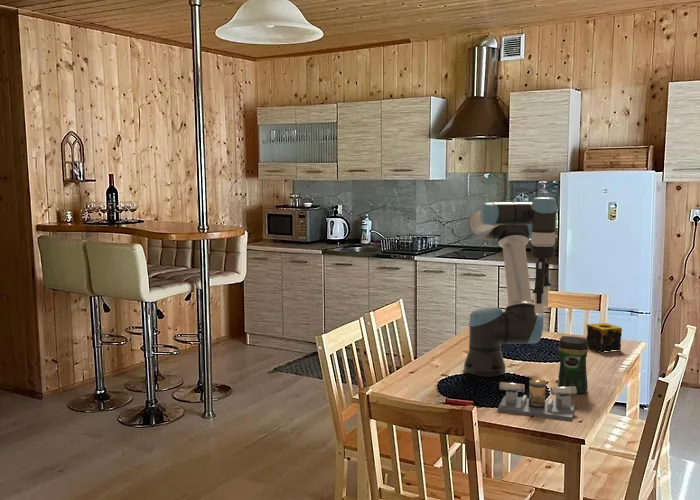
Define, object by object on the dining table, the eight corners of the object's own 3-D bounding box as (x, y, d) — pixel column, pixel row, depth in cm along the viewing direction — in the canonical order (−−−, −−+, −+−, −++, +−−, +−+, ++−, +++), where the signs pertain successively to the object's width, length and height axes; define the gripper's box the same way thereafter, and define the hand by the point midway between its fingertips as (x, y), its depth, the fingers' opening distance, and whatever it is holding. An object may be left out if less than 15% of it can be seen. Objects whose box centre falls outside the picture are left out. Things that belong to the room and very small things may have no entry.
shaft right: (554, 409, 211) (555, 389, 210) (548, 405, 214) (549, 385, 214) (577, 408, 212) (578, 388, 211) (571, 404, 216) (572, 384, 215)
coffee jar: (588, 388, 234) (590, 335, 232) (585, 395, 227) (587, 340, 224) (559, 385, 238) (560, 332, 236) (555, 391, 231) (557, 337, 229)
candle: (585, 347, 289) (585, 324, 288) (605, 345, 292) (606, 322, 291) (600, 353, 279) (601, 329, 278) (621, 351, 282) (622, 327, 281)
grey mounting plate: (497, 411, 212) (497, 401, 212) (504, 398, 224) (504, 389, 224) (572, 420, 204) (572, 410, 204) (575, 406, 216) (575, 397, 216)
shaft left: (498, 403, 217) (498, 383, 216) (500, 399, 220) (501, 380, 220) (522, 406, 214) (523, 386, 213) (524, 402, 218) (525, 382, 217)
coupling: (535, 409, 211) (536, 384, 210) (525, 404, 216) (525, 379, 215) (548, 407, 213) (549, 382, 212) (538, 402, 218) (538, 377, 217)
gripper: (551, 249, 210) (549, 317, 212) (558, 241, 233) (556, 303, 235) (526, 248, 213) (524, 315, 215) (535, 241, 236) (534, 301, 238)
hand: (541, 309), depth 225 cm, fingers open, 13 cm apart
